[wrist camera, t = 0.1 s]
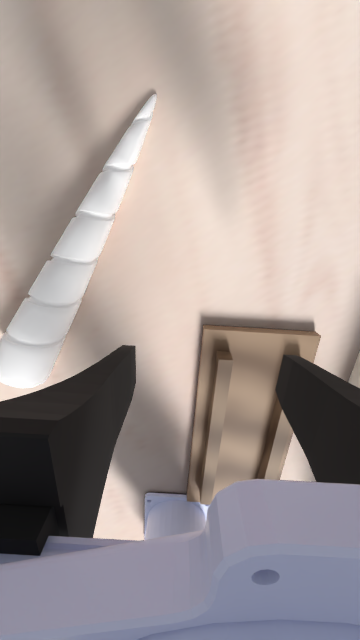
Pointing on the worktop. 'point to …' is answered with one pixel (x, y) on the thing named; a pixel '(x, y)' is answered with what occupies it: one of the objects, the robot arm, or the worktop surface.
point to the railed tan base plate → (241, 407)
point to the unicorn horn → (69, 268)
